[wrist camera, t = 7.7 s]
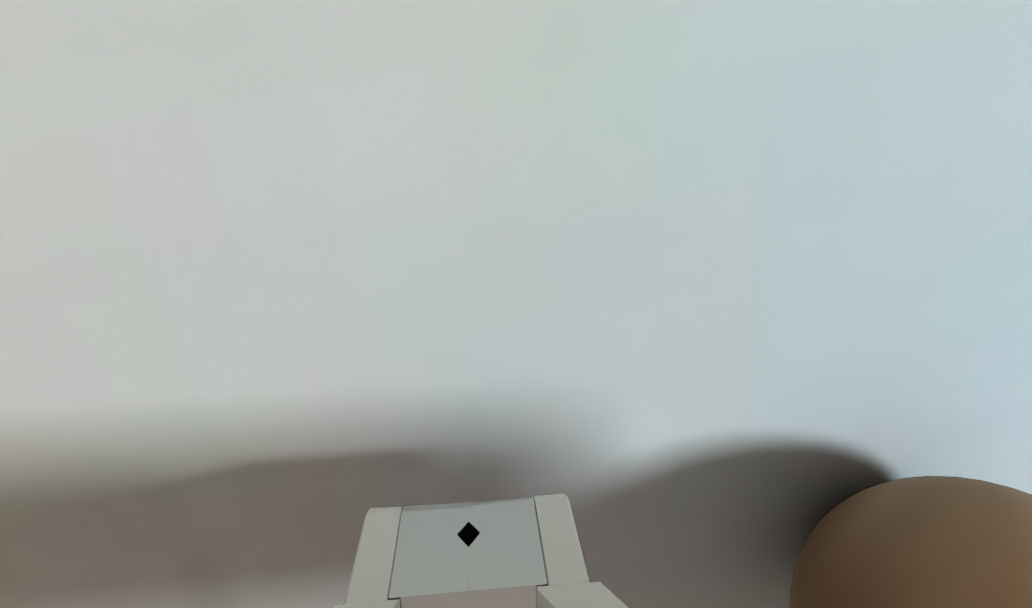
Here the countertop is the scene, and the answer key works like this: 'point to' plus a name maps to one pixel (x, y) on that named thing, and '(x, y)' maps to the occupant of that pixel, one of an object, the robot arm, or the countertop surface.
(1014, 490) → the walnut ball
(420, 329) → the countertop surface
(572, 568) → the robot arm
